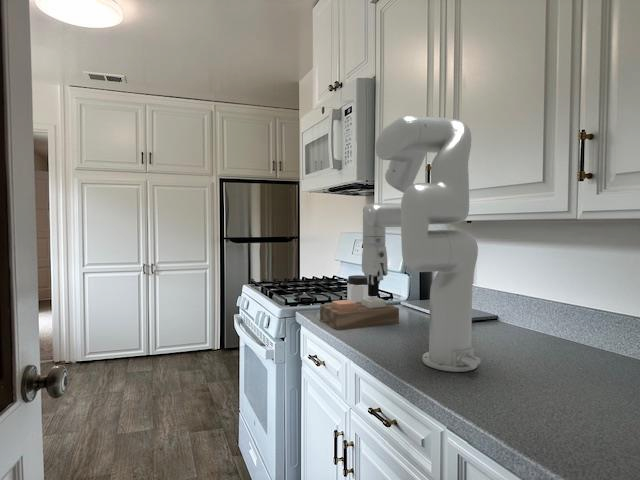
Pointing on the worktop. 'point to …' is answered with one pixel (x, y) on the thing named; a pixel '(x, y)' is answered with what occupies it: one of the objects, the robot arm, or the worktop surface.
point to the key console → (359, 316)
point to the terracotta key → (344, 305)
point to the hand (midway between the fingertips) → (373, 295)
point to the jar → (357, 288)
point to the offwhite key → (373, 302)
